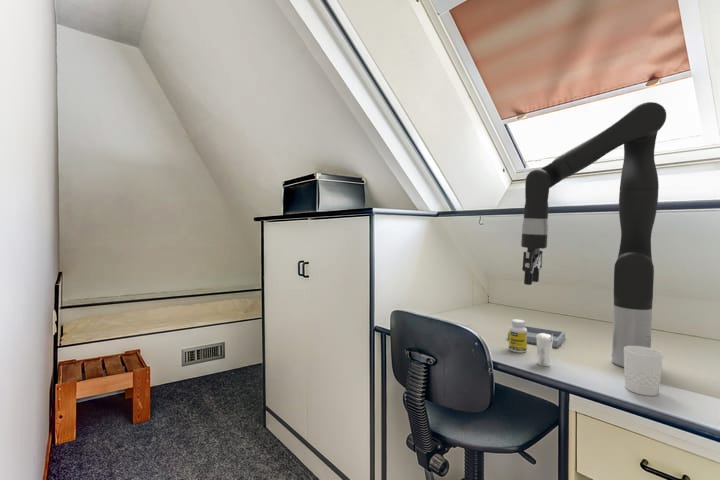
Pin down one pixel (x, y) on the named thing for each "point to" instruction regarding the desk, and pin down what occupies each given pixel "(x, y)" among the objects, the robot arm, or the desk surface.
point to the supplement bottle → (518, 336)
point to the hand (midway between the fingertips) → (531, 283)
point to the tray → (557, 335)
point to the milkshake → (544, 348)
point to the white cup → (642, 370)
